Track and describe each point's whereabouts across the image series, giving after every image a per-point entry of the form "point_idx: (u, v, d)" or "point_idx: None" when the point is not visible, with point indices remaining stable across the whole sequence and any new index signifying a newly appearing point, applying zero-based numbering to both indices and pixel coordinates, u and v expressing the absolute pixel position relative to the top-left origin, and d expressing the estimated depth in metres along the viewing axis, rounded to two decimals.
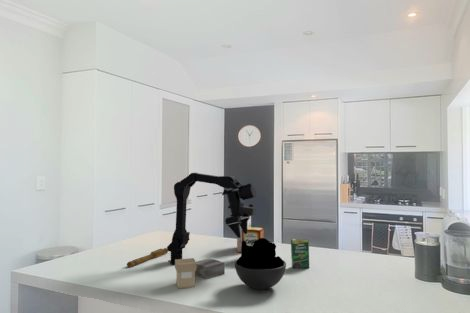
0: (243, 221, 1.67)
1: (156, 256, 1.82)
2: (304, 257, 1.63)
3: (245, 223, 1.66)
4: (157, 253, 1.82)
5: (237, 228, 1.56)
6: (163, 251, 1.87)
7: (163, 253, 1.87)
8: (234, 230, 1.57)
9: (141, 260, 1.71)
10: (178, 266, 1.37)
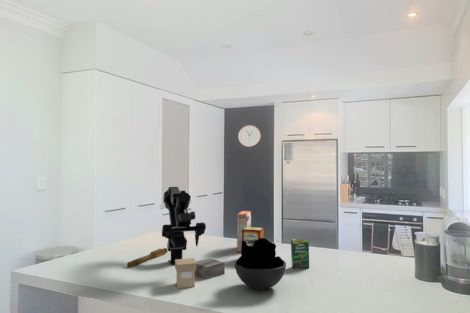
0: (195, 233, 1.55)
1: (156, 256, 1.82)
2: (304, 257, 1.63)
3: (196, 234, 1.53)
4: (157, 253, 1.82)
5: (171, 237, 1.50)
6: (163, 251, 1.87)
7: (163, 253, 1.87)
8: (171, 241, 1.50)
9: (141, 260, 1.71)
10: (178, 266, 1.37)
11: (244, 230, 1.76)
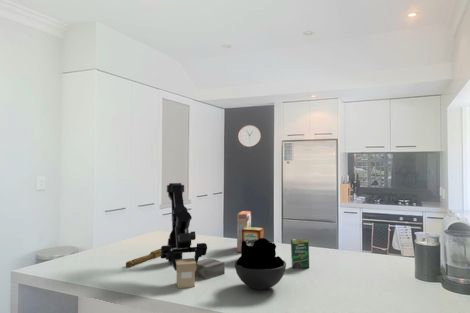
0: (195, 255, 1.45)
1: (156, 256, 1.82)
2: (304, 257, 1.63)
3: (195, 256, 1.44)
4: (157, 253, 1.82)
5: (171, 259, 1.41)
6: None
7: None
8: (171, 263, 1.42)
9: (140, 260, 1.71)
10: (178, 266, 1.37)
11: (244, 230, 1.76)
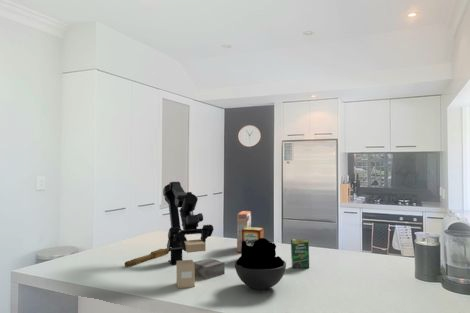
0: (202, 236, 1.49)
1: (156, 256, 1.81)
2: (304, 257, 1.63)
3: (203, 237, 1.48)
4: (157, 253, 1.82)
5: (180, 240, 1.44)
6: (163, 251, 1.87)
7: (163, 253, 1.87)
8: (180, 244, 1.45)
9: (139, 260, 1.72)
10: (188, 246, 1.41)
11: (244, 230, 1.76)
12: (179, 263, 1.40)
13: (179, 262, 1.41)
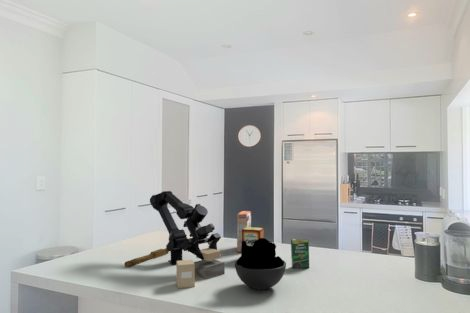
0: (212, 244, 1.61)
1: (155, 256, 1.81)
2: (304, 257, 1.63)
3: (214, 245, 1.60)
4: (157, 253, 1.82)
5: (197, 250, 1.53)
6: (163, 251, 1.87)
7: (163, 253, 1.87)
8: (196, 254, 1.53)
9: (139, 260, 1.72)
10: (208, 255, 1.51)
11: (244, 230, 1.76)
12: (179, 263, 1.40)
13: (179, 262, 1.41)
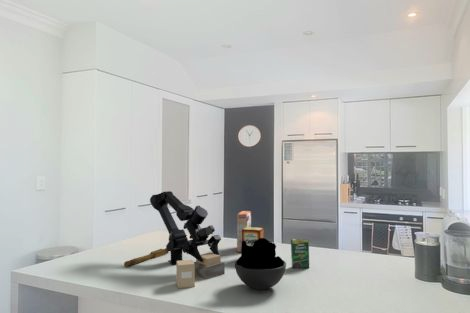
0: (213, 246, 1.61)
1: (155, 256, 1.81)
2: (304, 257, 1.63)
3: (215, 247, 1.60)
4: (156, 253, 1.82)
5: (196, 252, 1.52)
6: (163, 251, 1.87)
7: (163, 253, 1.87)
8: (195, 256, 1.53)
9: (139, 260, 1.72)
10: (208, 260, 1.50)
11: (244, 230, 1.76)
12: (179, 263, 1.40)
13: (179, 262, 1.41)
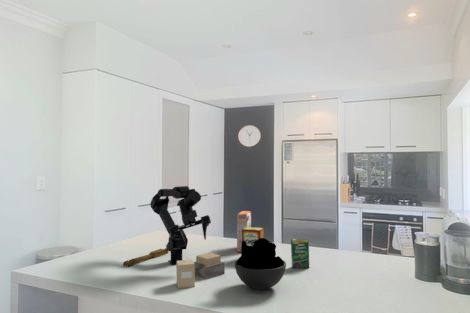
0: None
1: (155, 256, 1.82)
2: (304, 257, 1.63)
3: (203, 229, 1.61)
4: (156, 253, 1.82)
5: None
6: (163, 251, 1.87)
7: (163, 253, 1.87)
8: None
9: (138, 260, 1.72)
10: (208, 260, 1.50)
11: (244, 230, 1.76)
12: (179, 263, 1.40)
13: (179, 262, 1.41)
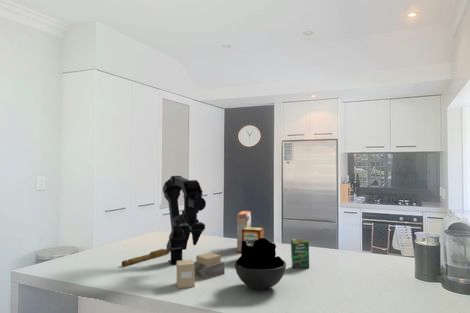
0: None
1: (155, 256, 1.81)
2: (304, 257, 1.63)
3: None
4: (156, 253, 1.82)
5: None
6: (163, 251, 1.86)
7: (163, 253, 1.86)
8: None
9: (137, 260, 1.72)
10: (208, 260, 1.50)
11: (244, 230, 1.76)
12: (179, 263, 1.40)
13: (179, 262, 1.41)
